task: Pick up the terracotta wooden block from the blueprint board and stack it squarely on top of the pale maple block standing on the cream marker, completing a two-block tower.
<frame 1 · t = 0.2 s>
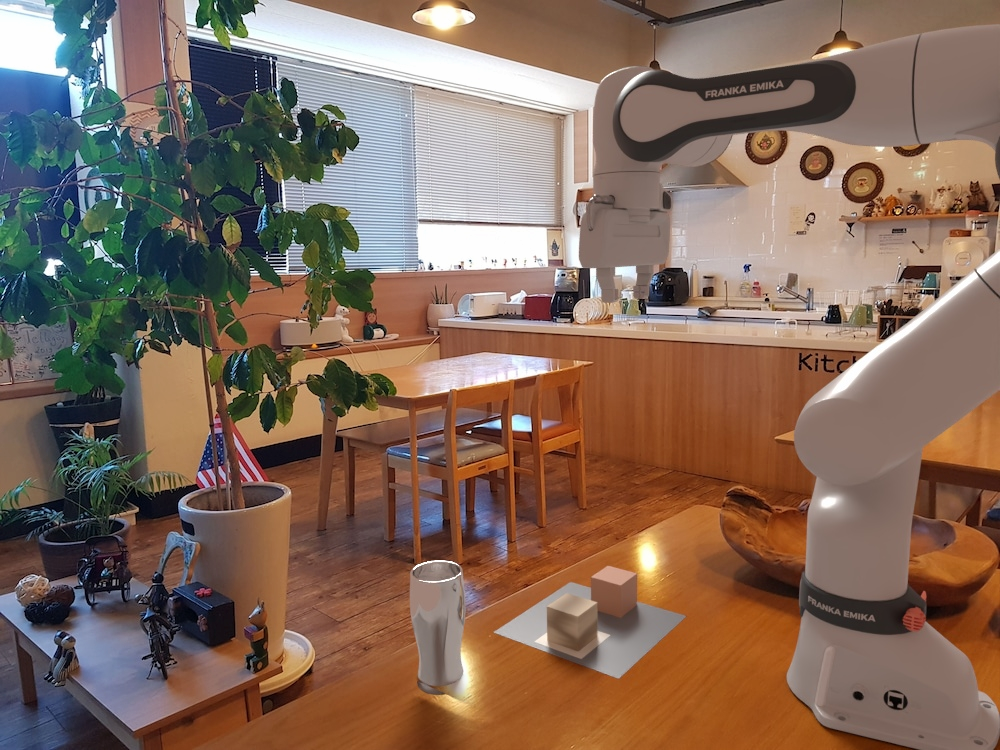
hand: (626, 300, 103), 47 cm above the table, fingers open, 8 cm apart
terracotta block: (614, 606, 112), point 1 cm above the table, touching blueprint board
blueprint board: (591, 631, 107), on the table
maple block: (572, 638, 103), point 1 cm above the table, touching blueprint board
beer glass: (441, 683, 96), on the table
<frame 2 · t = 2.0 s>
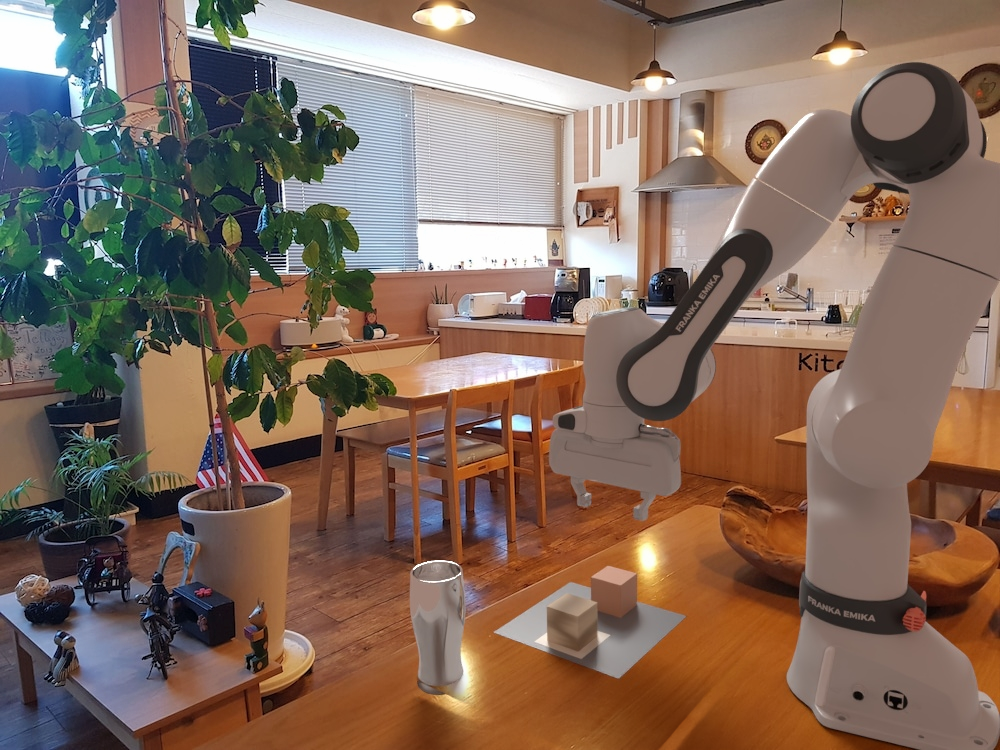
hand: (611, 512, 110), 16 cm above the table, fingers open, 8 cm apart
nothing on the table moved.
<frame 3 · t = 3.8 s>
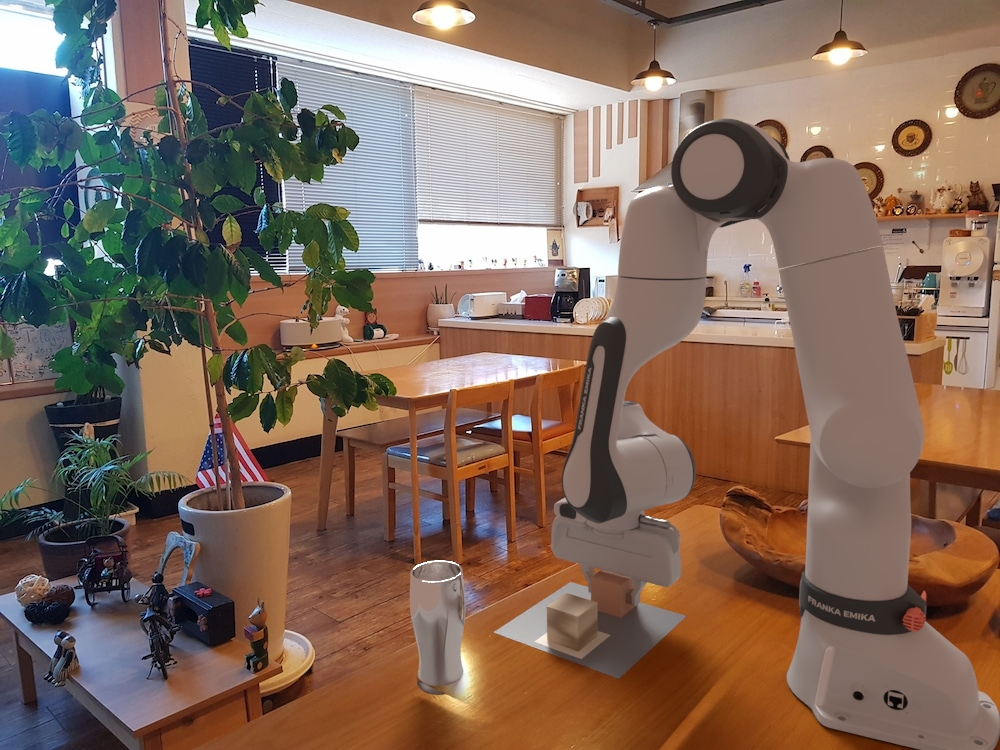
hand: (613, 597, 112), 3 cm above the table, fingers closed on terracotta block, 5 cm apart
terracotta block: (614, 606, 112), point 1 cm above the table, touching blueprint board, gripper
everything else where it was.
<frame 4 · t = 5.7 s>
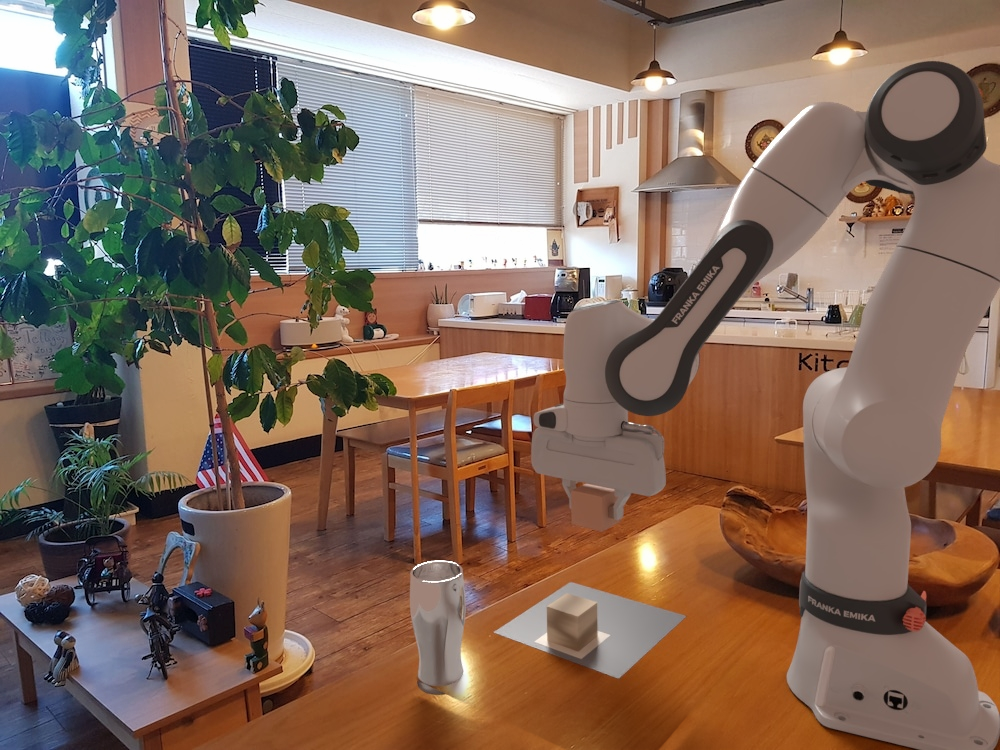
hand: (595, 513, 106), 17 cm above the table, fingers closed on terracotta block, 5 cm apart
terracotta block: (596, 522, 106), point 16 cm above the table, touching gripper
everything else where it was.
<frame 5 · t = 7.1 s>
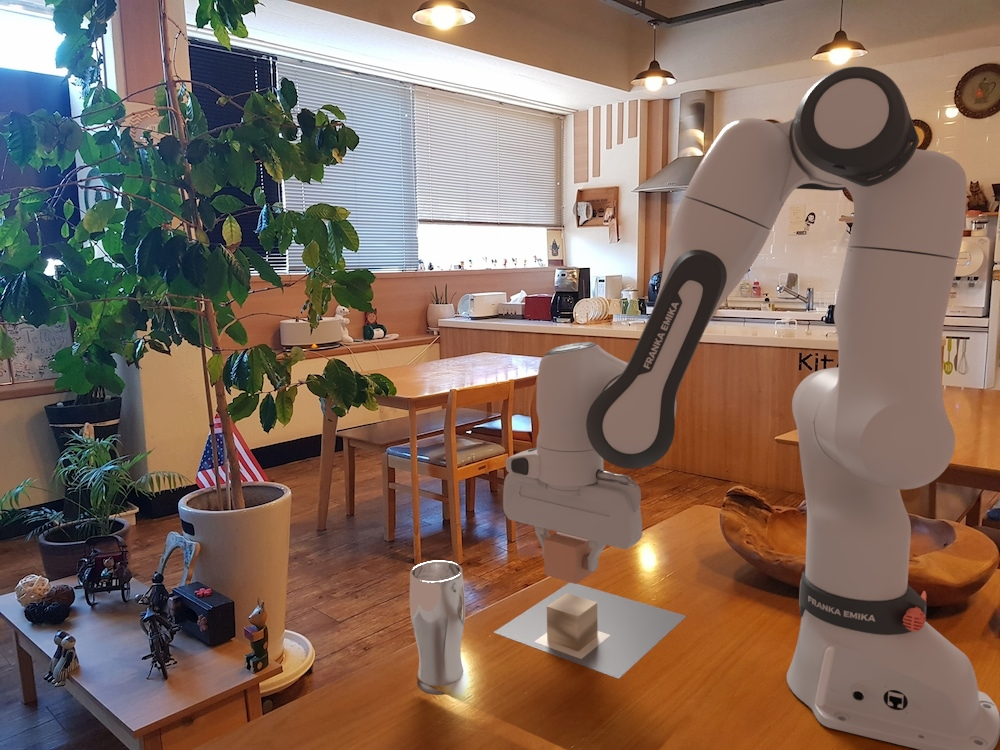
hand: (569, 563, 101), 12 cm above the table, fingers closed on terracotta block, 5 cm apart
terracotta block: (569, 572, 102), point 11 cm above the table, touching gripper
everything else where it was.
when the fingers open (9 cm above the table, at t = 8.1 s): terracotta block stays where it is, resting on maple block.
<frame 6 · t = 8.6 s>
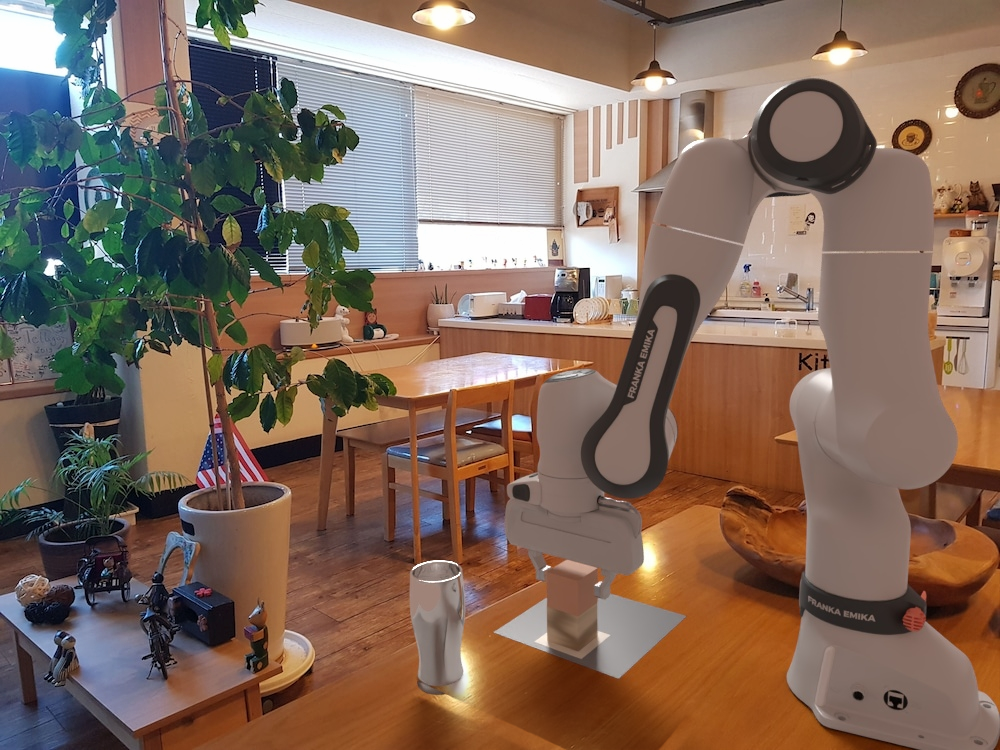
hand: (572, 588, 102), 9 cm above the table, fingers open, 8 cm apart
terracotta block: (572, 604, 102), point 6 cm above the table, touching maple block
maple block: (572, 638, 103), point 1 cm above the table, touching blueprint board, terracotta block
everything else where it was.
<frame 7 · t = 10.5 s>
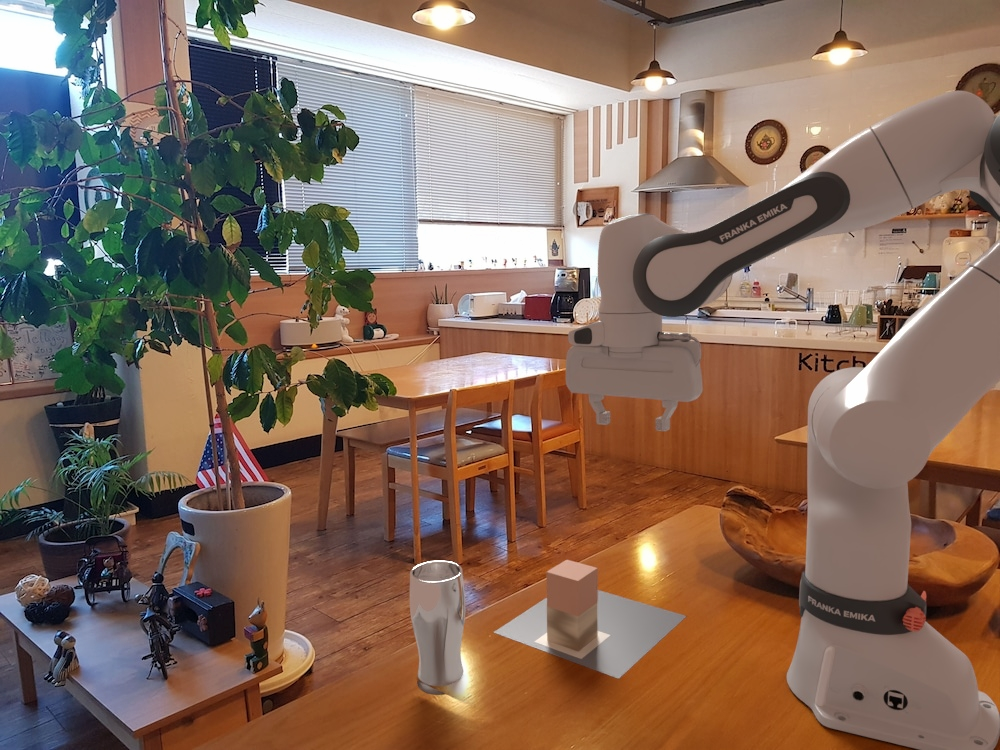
hand: (632, 427, 108), 29 cm above the table, fingers open, 8 cm apart
nothing on the table moved.
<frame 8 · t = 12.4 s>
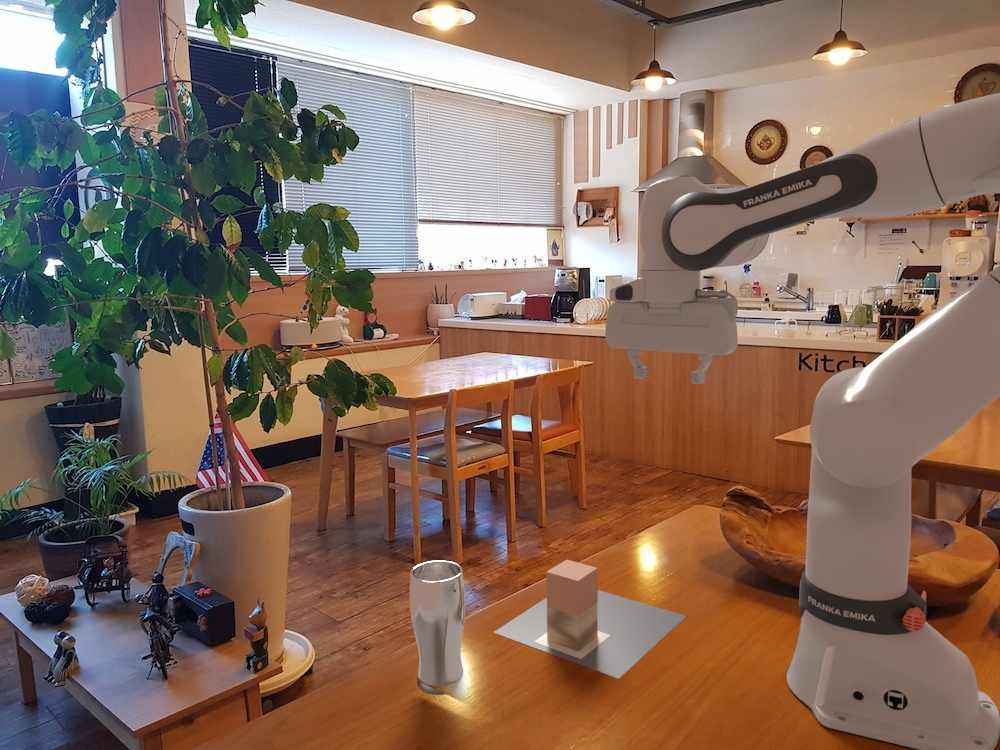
hand: (668, 380, 114), 34 cm above the table, fingers open, 8 cm apart
nothing on the table moved.
at the end: terracotta block 0.1 cm off-centre on the maple block, point 5.0 cm above the maple block's base; terracotta block tilted 0°; maple block moved 0.0 cm from its start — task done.
